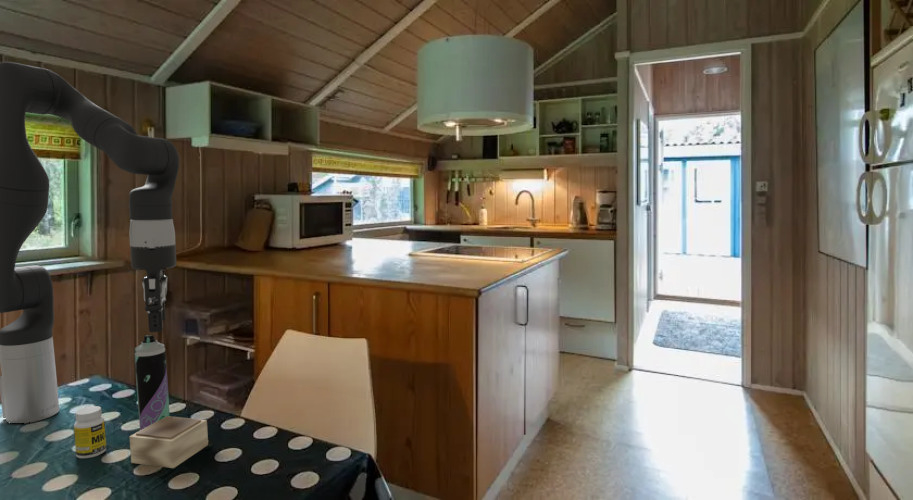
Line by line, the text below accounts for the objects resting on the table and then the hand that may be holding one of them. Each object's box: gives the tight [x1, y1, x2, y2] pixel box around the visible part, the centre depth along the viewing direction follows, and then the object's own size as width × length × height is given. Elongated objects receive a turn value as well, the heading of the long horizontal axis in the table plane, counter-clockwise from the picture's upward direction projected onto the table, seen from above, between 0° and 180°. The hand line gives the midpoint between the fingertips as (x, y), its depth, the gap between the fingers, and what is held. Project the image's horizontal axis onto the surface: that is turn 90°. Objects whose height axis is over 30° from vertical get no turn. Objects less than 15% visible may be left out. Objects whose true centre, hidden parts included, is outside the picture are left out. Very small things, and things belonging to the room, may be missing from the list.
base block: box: [128, 415, 209, 469], centre depth 99 cm, size 9×9×5 cm
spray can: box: [133, 334, 171, 431], centre depth 108 cm, size 6×6×20 cm
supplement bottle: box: [73, 405, 107, 459], centre depth 99 cm, size 5×5×8 cm
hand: (157, 326), depth 102 cm, fingers open, 8 cm apart
